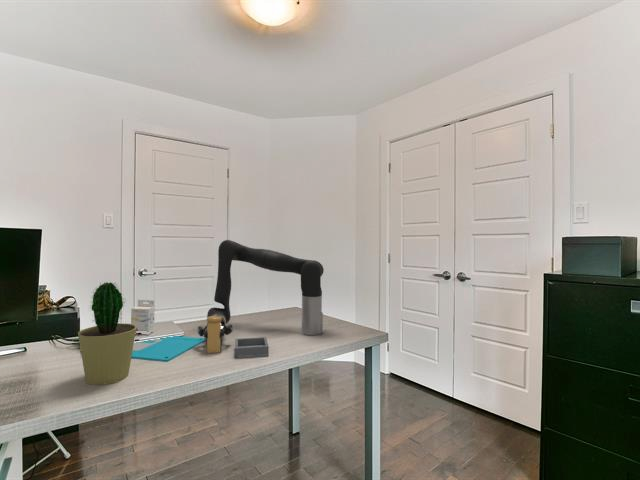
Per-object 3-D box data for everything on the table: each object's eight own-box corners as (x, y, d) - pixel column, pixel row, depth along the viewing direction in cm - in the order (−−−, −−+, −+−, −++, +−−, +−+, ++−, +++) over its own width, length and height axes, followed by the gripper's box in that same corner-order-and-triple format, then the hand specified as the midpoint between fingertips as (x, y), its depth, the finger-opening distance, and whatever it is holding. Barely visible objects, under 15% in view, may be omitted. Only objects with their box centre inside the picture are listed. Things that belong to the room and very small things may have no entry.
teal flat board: (167, 362, 118) (167, 359, 118) (99, 356, 124) (99, 353, 124) (207, 340, 144) (207, 338, 144) (149, 336, 149) (149, 334, 149)
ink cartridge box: (130, 334, 150) (130, 301, 150) (137, 331, 155) (137, 299, 155) (148, 335, 150) (148, 301, 149) (154, 332, 154) (155, 299, 154)
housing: (265, 345, 136) (266, 337, 136) (268, 355, 125) (268, 346, 125) (235, 347, 134) (235, 338, 134) (235, 358, 122) (235, 348, 122)
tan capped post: (221, 347, 133) (221, 315, 133) (220, 352, 128) (221, 318, 128) (207, 348, 132) (207, 316, 132) (205, 353, 127) (206, 319, 127)
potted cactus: (142, 377, 104) (143, 280, 104) (82, 393, 94) (83, 285, 93) (129, 364, 115) (130, 276, 115) (73, 376, 105) (74, 279, 105)
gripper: (199, 316, 142) (193, 326, 126) (234, 314, 145) (233, 324, 129) (198, 334, 142) (193, 346, 126) (233, 332, 145) (233, 344, 129)
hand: (213, 335), depth 127 cm, fingers closed on tan capped post, 4 cm apart
